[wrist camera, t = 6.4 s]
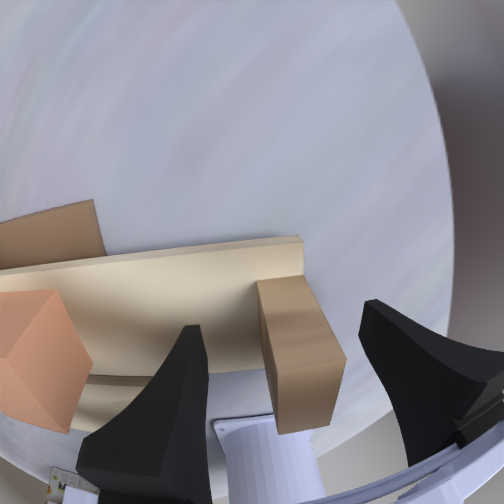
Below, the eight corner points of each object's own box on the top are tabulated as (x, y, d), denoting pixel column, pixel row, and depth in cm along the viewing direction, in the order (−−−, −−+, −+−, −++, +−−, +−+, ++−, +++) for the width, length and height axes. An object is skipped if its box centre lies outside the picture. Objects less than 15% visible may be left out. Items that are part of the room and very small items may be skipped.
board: (178, 425, 19) (177, 431, 18) (2, 398, 17) (0, 401, 17) (92, 199, 11) (87, 202, 10) (-78, 251, 10) (-82, 254, 9)
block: (93, 363, 13) (67, 434, 8) (34, 358, 13) (5, 415, 8) (57, 288, 11) (6, 358, 6) (-1, 292, 10) (-47, 346, 6)
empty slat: (188, 431, 18) (186, 496, 12) (12, 405, 16) (-5, 446, 11) (160, 376, 15) (149, 462, 9) (-26, 356, 13) (-51, 398, 8)
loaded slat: (296, 352, 15) (324, 440, 9) (15, 357, 13) (-15, 413, 8) (298, 234, 12) (354, 318, 7) (-27, 274, 10) (-77, 324, 5)
